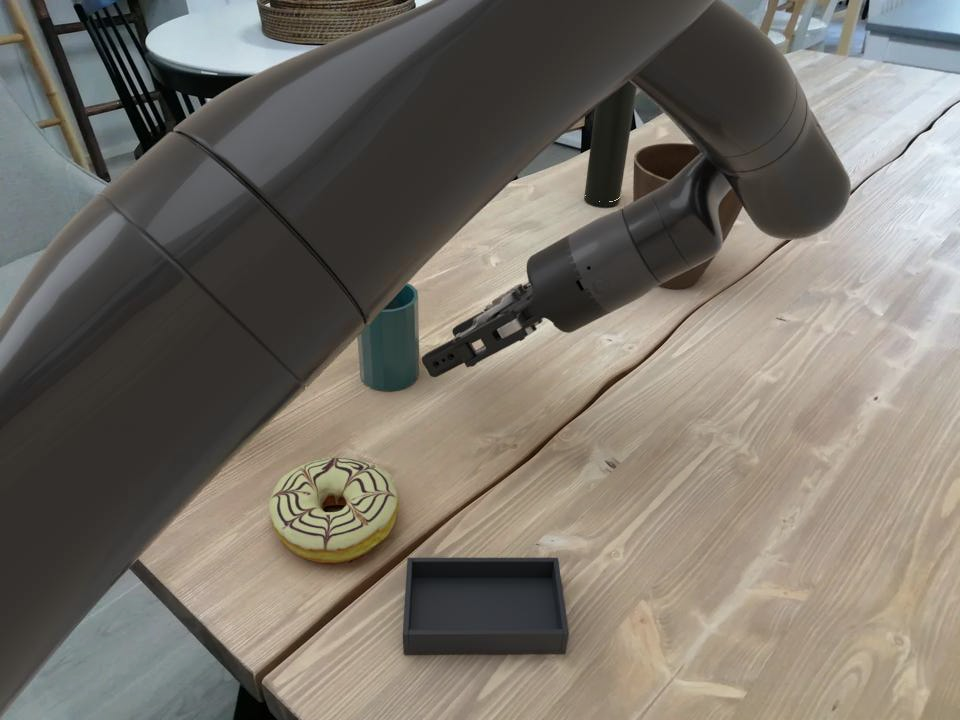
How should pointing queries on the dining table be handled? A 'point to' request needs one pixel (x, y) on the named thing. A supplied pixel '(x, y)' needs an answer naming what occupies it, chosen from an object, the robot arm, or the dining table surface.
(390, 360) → the cup
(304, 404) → the dining table surface
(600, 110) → the wine bottle
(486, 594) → the tray
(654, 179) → the flower pot
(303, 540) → the decorated donut
